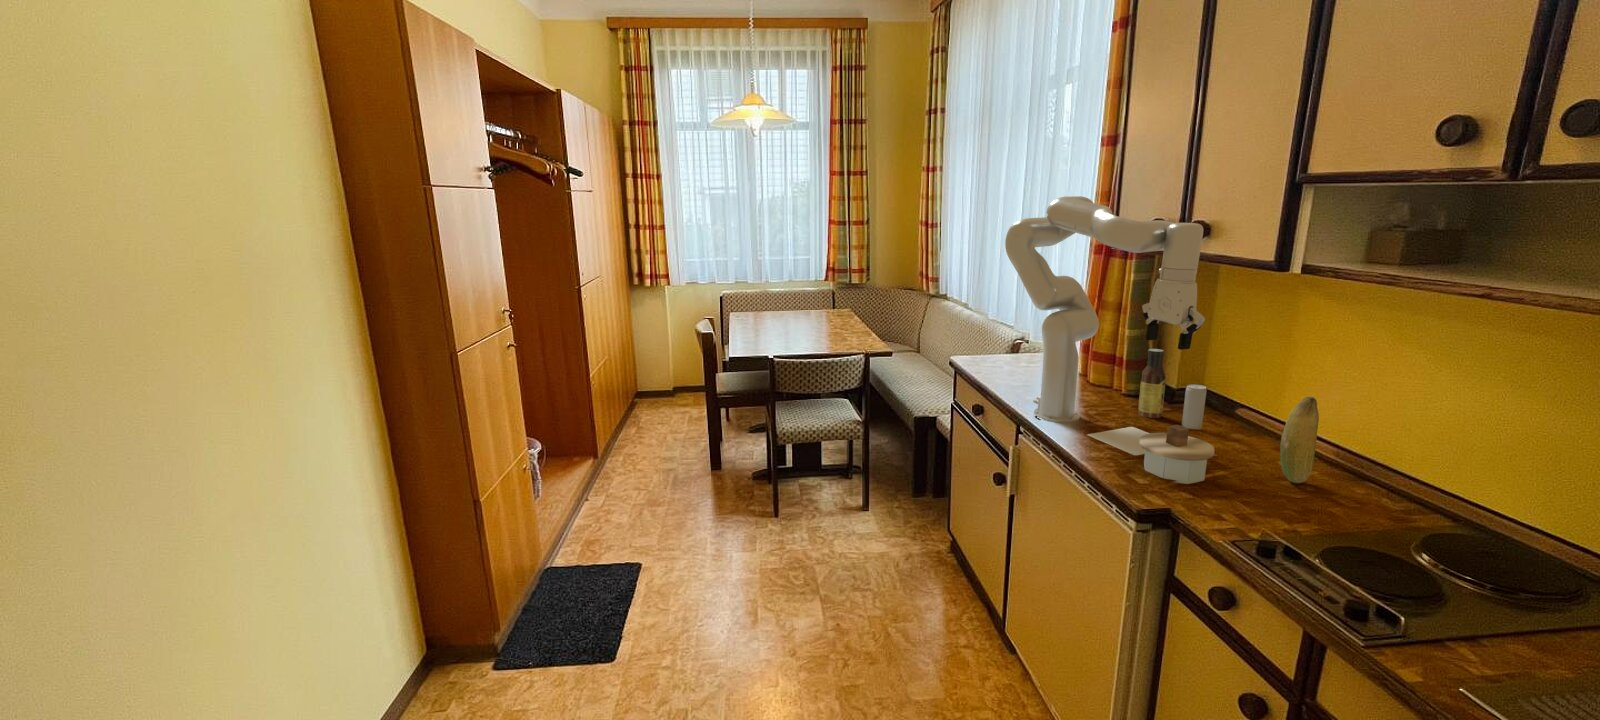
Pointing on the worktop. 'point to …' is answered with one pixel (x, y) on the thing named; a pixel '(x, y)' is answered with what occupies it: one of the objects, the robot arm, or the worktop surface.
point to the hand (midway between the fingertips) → (1167, 344)
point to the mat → (1123, 439)
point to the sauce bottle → (1152, 386)
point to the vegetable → (1300, 441)
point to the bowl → (1175, 468)
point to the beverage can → (1194, 406)
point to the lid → (1177, 445)
